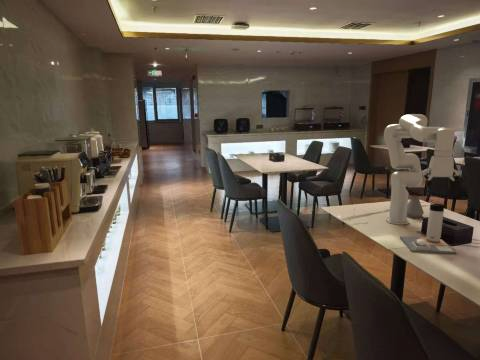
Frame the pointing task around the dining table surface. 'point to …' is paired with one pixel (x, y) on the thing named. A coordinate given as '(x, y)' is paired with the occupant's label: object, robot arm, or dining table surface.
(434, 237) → the travel mug
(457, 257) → the dining table surface
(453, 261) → the dining table surface
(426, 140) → the robot arm
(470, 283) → the dining table surface
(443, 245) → the picture board
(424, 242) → the button
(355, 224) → the dining table surface
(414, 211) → the coffee pot
